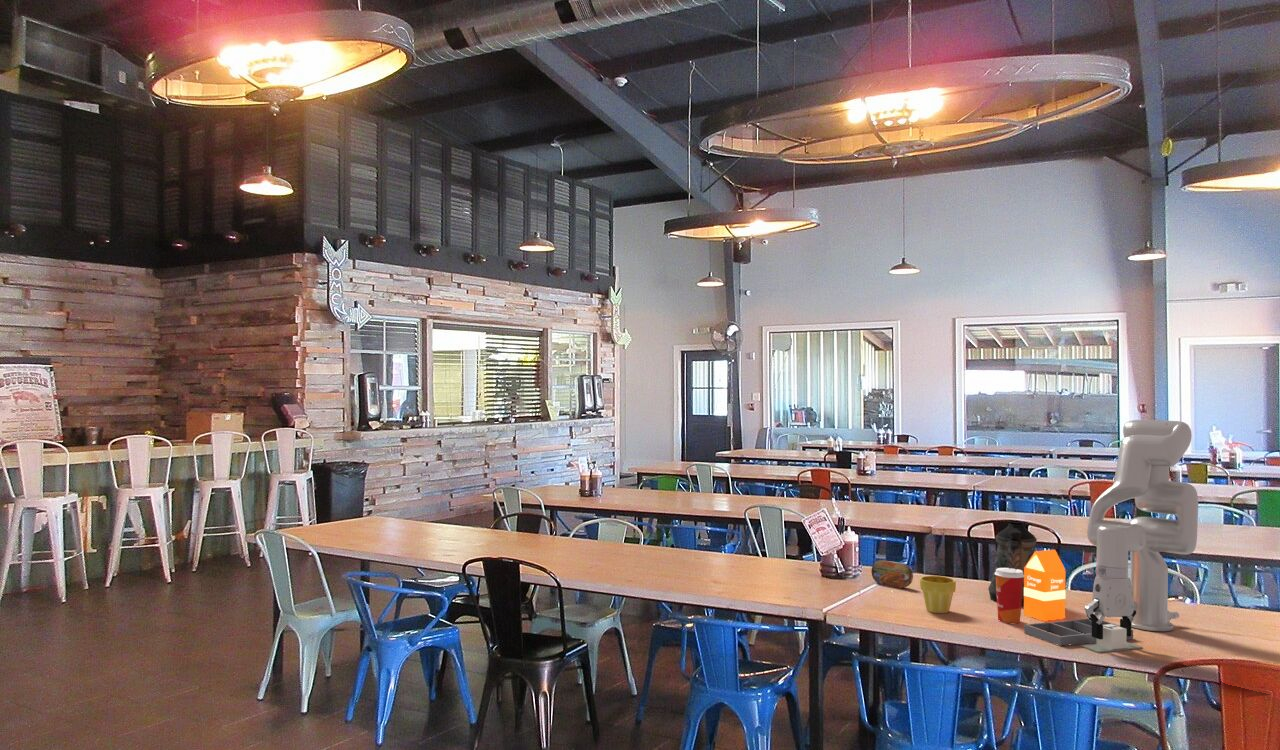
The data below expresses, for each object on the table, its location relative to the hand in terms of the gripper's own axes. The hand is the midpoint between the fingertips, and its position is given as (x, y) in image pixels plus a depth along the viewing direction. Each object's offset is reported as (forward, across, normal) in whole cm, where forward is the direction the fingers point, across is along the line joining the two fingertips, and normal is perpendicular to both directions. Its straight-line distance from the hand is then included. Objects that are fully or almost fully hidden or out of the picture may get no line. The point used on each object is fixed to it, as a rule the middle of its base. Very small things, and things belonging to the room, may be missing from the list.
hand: (1111, 636), depth 242 cm
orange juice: (+3, +6, +31) cm, 32 cm away
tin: (+3, -14, +80) cm, 81 cm away
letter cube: (+2, 0, 0) cm, 3 cm away
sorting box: (+3, 0, +11) cm, 12 cm away
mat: (+3, 0, 0) cm, 3 cm away
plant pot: (+3, -20, +46) cm, 50 cm away
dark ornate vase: (+3, +12, +49) cm, 51 cm away
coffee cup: (+3, -8, +30) cm, 31 cm away
